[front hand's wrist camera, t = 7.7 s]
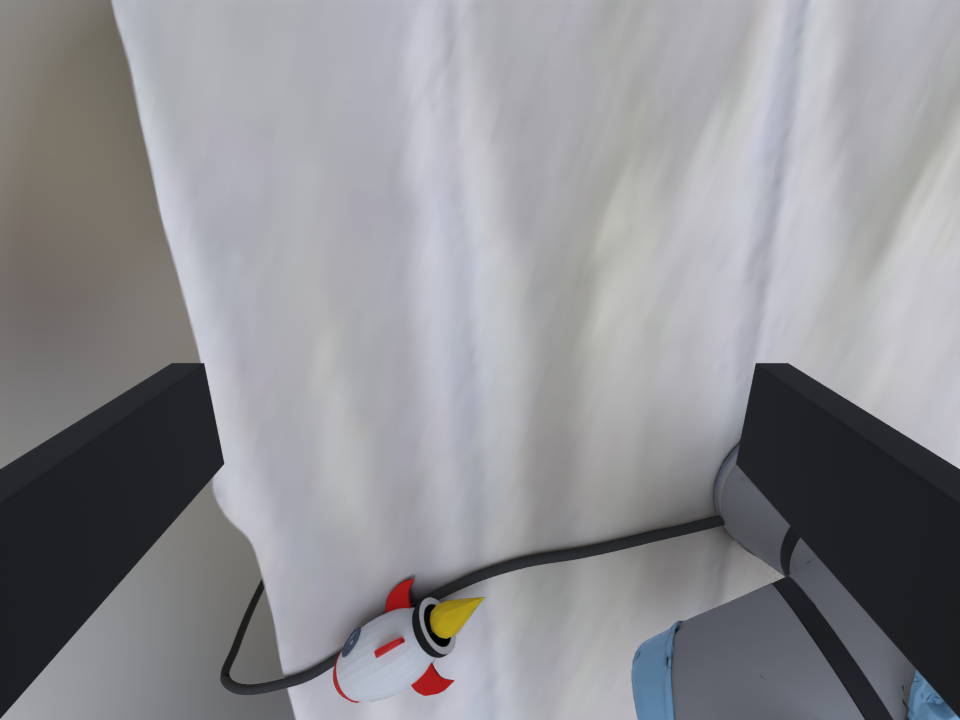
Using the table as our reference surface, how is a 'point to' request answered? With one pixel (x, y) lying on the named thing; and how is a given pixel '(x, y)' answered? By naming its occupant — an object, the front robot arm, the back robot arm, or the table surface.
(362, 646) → the toy rocket
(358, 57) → the table surface
